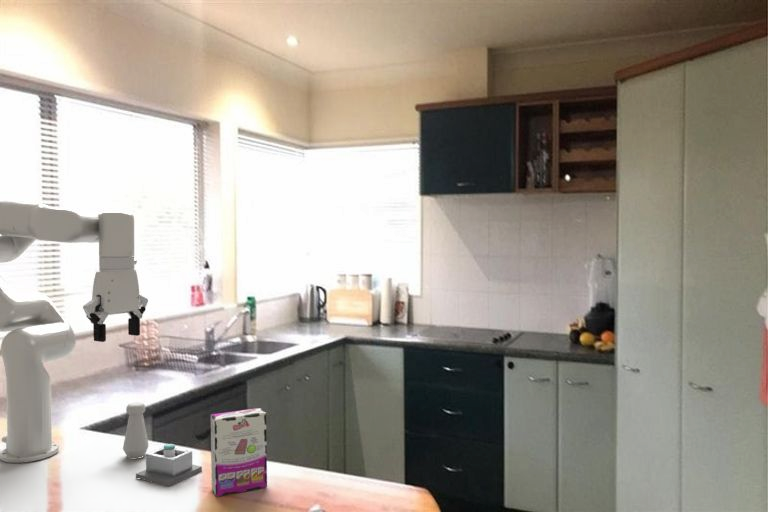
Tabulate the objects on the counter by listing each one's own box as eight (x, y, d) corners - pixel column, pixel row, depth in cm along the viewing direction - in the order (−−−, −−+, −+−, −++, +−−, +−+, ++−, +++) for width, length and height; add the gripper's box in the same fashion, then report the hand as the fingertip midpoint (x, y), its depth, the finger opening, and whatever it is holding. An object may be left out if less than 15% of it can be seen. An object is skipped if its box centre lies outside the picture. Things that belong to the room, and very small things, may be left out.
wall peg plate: (135, 478, 139) (135, 448, 139) (169, 463, 148) (169, 436, 148) (169, 486, 135) (169, 456, 135) (201, 470, 144) (201, 442, 144)
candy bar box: (261, 479, 139) (261, 406, 138) (267, 487, 134) (267, 412, 134) (210, 488, 134) (209, 413, 133) (215, 497, 129) (215, 419, 129)
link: (146, 471, 141) (146, 454, 140) (165, 462, 146) (165, 445, 146) (173, 477, 137) (172, 459, 137) (192, 468, 143) (192, 451, 142)
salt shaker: (139, 461, 150) (139, 407, 149) (118, 459, 151) (117, 406, 150) (153, 452, 155) (152, 401, 155) (132, 451, 156) (132, 399, 156)
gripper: (135, 262, 154) (135, 331, 154) (72, 265, 138) (73, 342, 139) (157, 263, 150) (157, 334, 151) (96, 266, 135) (97, 345, 135)
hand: (117, 338), depth 145 cm, fingers open, 9 cm apart
